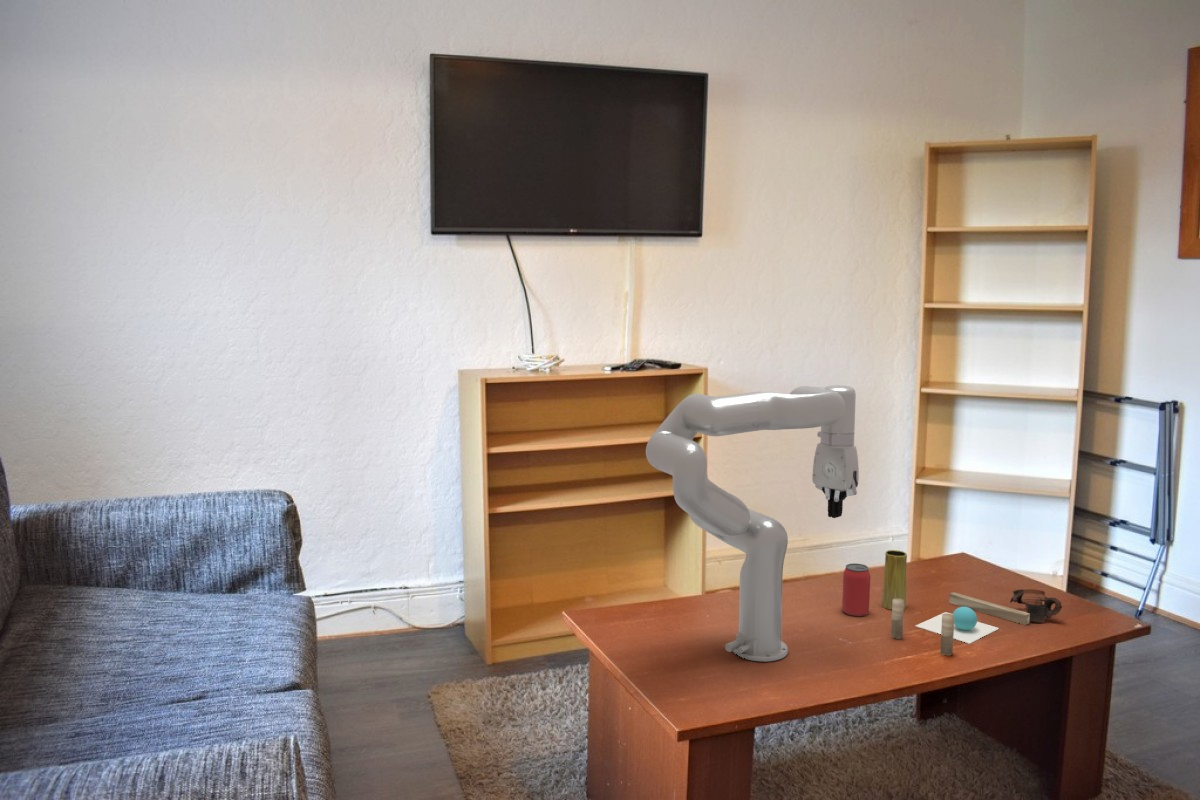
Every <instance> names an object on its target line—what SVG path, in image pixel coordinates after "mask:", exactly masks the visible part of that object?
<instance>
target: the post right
mask: <svg viewBox="0 0 1200 800" xmlns="http://www.w3.org/2000/svg"><path fill="white" fill-rule="evenodd" d="M944 613H945V612H944ZM947 613H948V612H947ZM947 613H945V614H942V613H941V614H942V629H941V635H940V650H939V651H940V652H939V654H940V655H942V654H943V655H942V656H944V655H947V656H946V657H949V656H948V655H952V654H953V651H954V639H953V636H954V617H955V616H954V615H952V614H953V613H951V614H947ZM952 656H953V655H952Z"/></svg>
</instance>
